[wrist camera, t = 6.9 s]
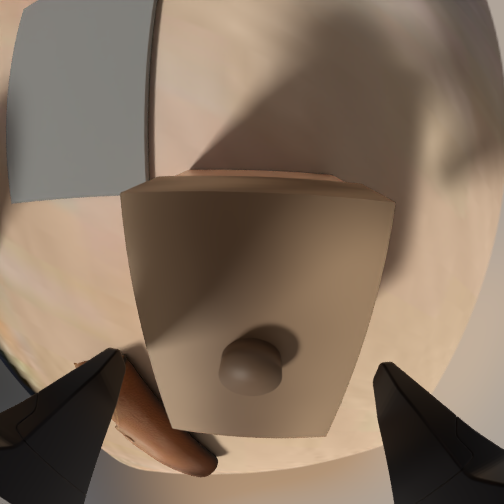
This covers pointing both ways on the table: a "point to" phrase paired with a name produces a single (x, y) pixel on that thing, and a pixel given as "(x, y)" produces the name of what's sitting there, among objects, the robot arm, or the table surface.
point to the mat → (79, 99)
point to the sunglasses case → (157, 428)
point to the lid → (254, 296)
